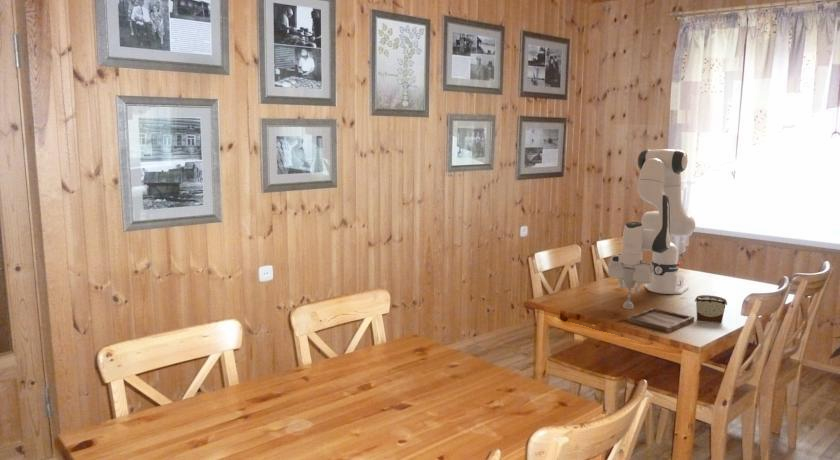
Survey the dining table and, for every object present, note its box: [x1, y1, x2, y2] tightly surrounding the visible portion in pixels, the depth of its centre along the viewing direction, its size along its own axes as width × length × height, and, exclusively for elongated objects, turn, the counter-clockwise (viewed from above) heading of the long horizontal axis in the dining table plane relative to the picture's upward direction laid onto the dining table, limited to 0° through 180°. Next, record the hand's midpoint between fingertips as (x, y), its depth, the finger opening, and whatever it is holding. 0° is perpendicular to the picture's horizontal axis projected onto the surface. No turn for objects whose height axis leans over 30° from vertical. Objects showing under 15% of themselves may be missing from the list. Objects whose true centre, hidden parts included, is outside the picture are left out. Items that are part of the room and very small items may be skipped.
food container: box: [694, 294, 728, 324], centre depth 260 cm, size 12×6×10 cm, turn 71°
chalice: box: [622, 267, 637, 310], centre depth 278 cm, size 7×7×18 cm
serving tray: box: [626, 307, 695, 334], centre depth 258 cm, size 22×18×2 cm
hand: (629, 289), depth 278 cm, fingers closed on chalice, 6 cm apart
